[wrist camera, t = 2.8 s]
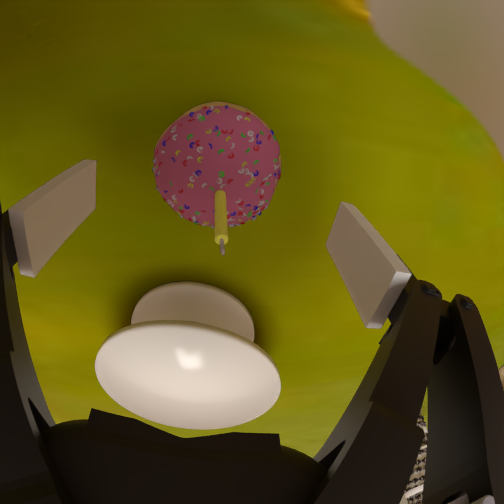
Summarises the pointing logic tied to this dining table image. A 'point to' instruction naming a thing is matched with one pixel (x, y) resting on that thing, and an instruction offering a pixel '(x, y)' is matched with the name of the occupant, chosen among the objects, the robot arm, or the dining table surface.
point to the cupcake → (217, 166)
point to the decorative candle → (418, 470)
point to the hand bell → (502, 375)
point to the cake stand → (189, 360)
